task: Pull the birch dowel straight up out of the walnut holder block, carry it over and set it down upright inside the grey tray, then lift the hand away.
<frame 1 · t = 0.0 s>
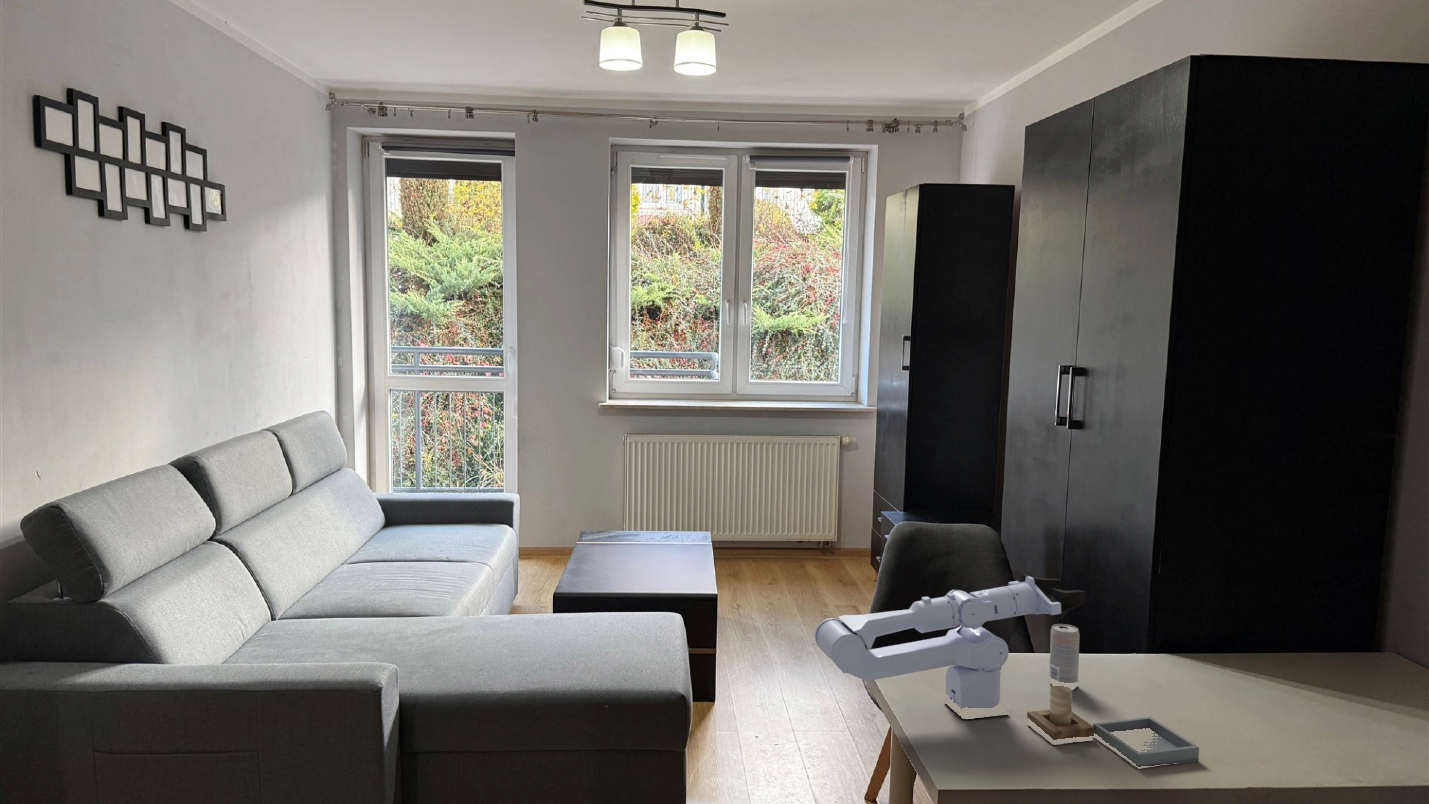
hand: (1072, 590, 168), 22 cm above the table, tool horizontal, fingers open, 7 cm apart
energy drink: (1063, 686, 177), on the table
tray: (1144, 748, 150), on the table
dowel: (1060, 711, 156), in the holder
holder: (1059, 733, 156), on the table
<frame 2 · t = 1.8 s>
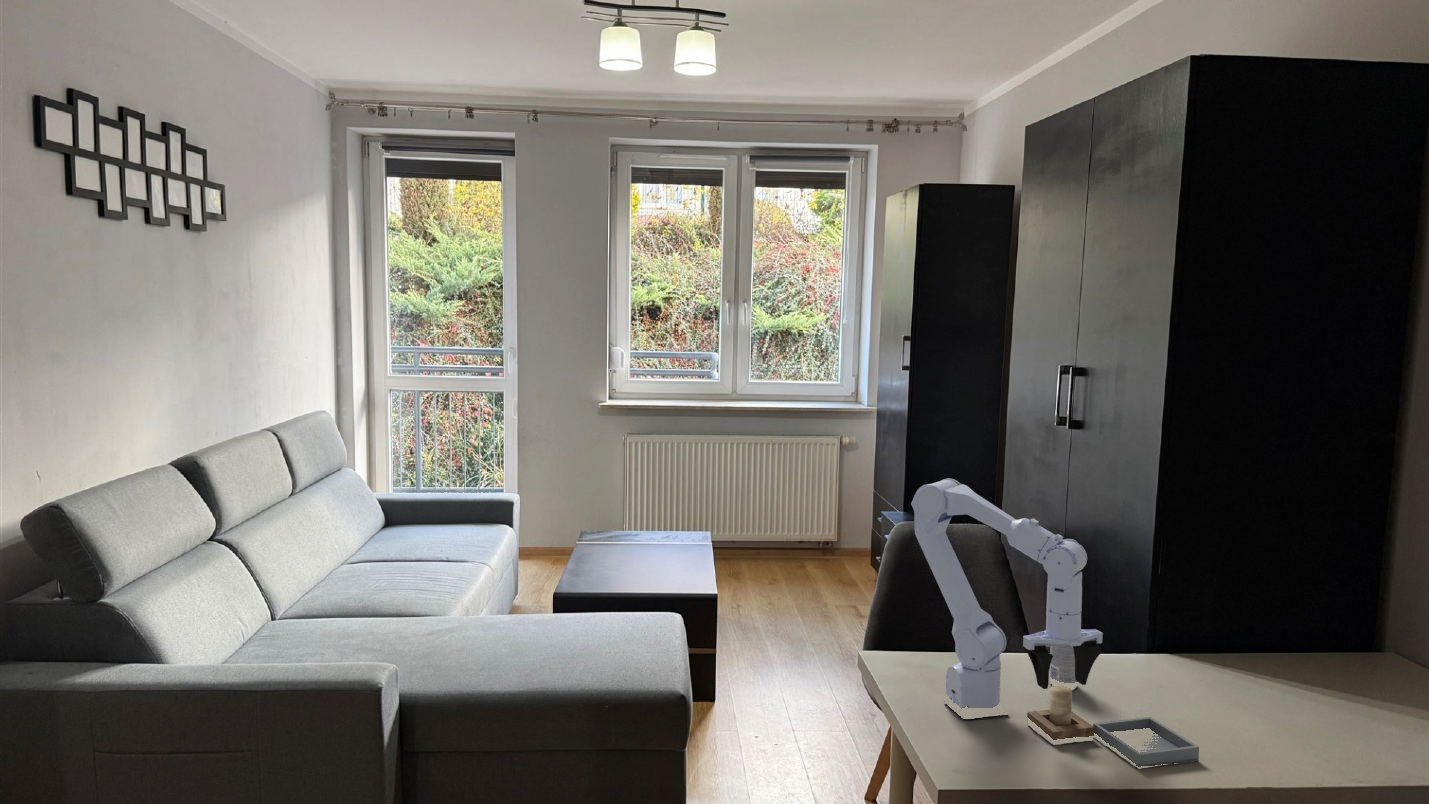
hand: (1061, 684, 155), 9 cm above the table, tool pointing down, fingers open, 7 cm apart
nothing on the table moved.
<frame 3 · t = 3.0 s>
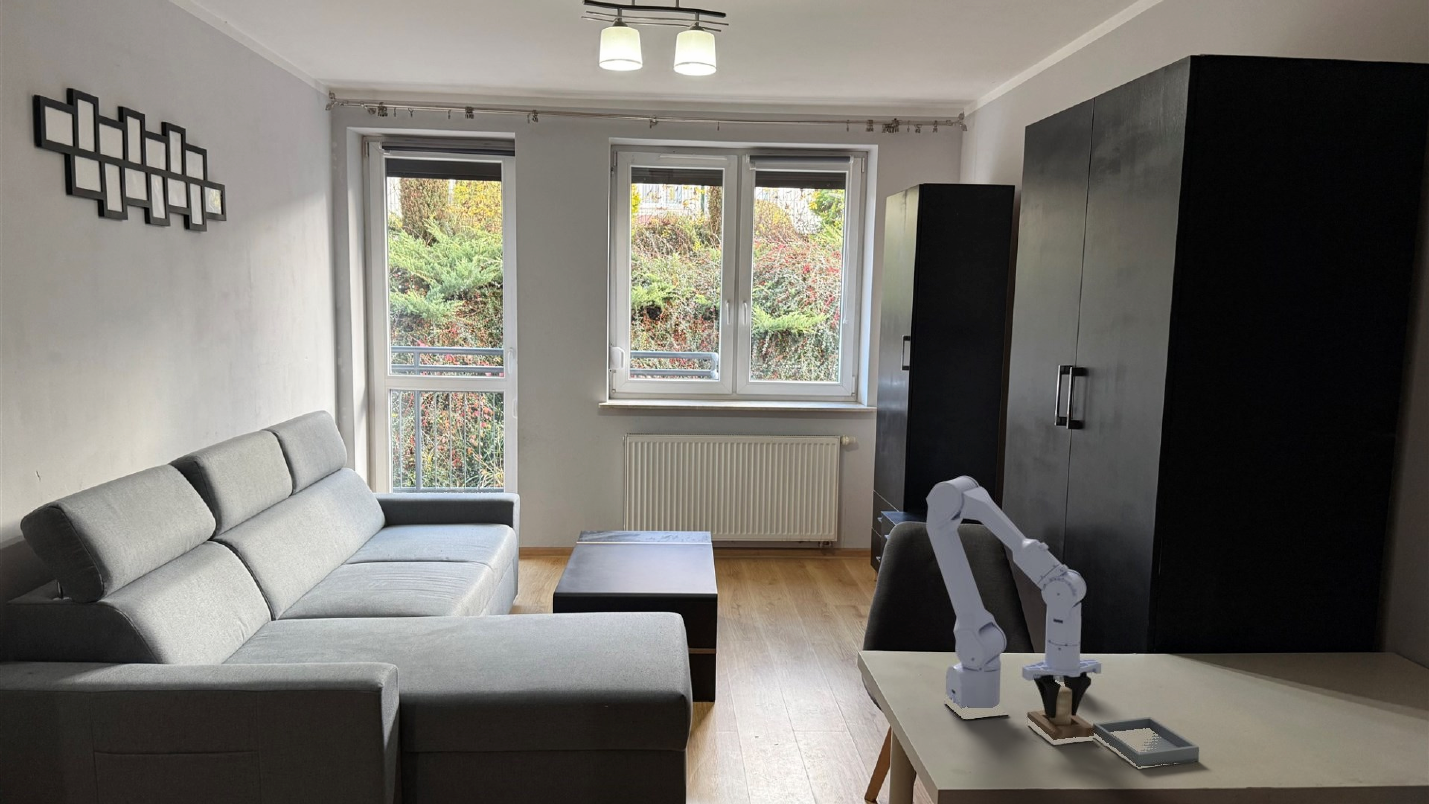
hand: (1060, 714, 156), 3 cm above the table, tool pointing down, fingers closed on dowel, 4 cm apart
dowel: (1060, 711, 156), in the holder, touching gripper
everything else where it was.
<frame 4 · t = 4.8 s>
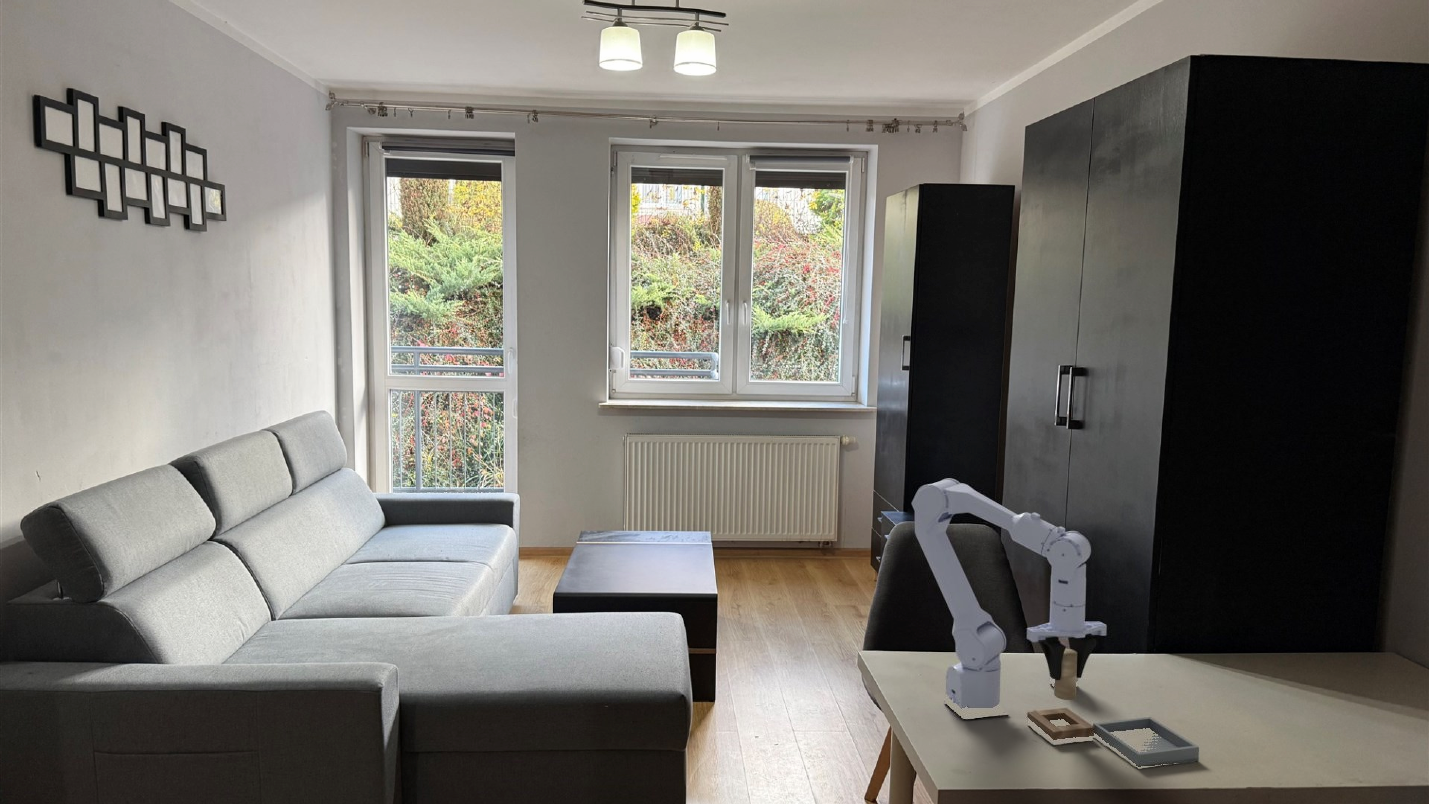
hand: (1065, 677, 155), 10 cm above the table, tool pointing down, fingers closed on dowel, 4 cm apart
dowel: (1065, 673, 155), point 11 cm above the table, touching gripper
everything else where it was.
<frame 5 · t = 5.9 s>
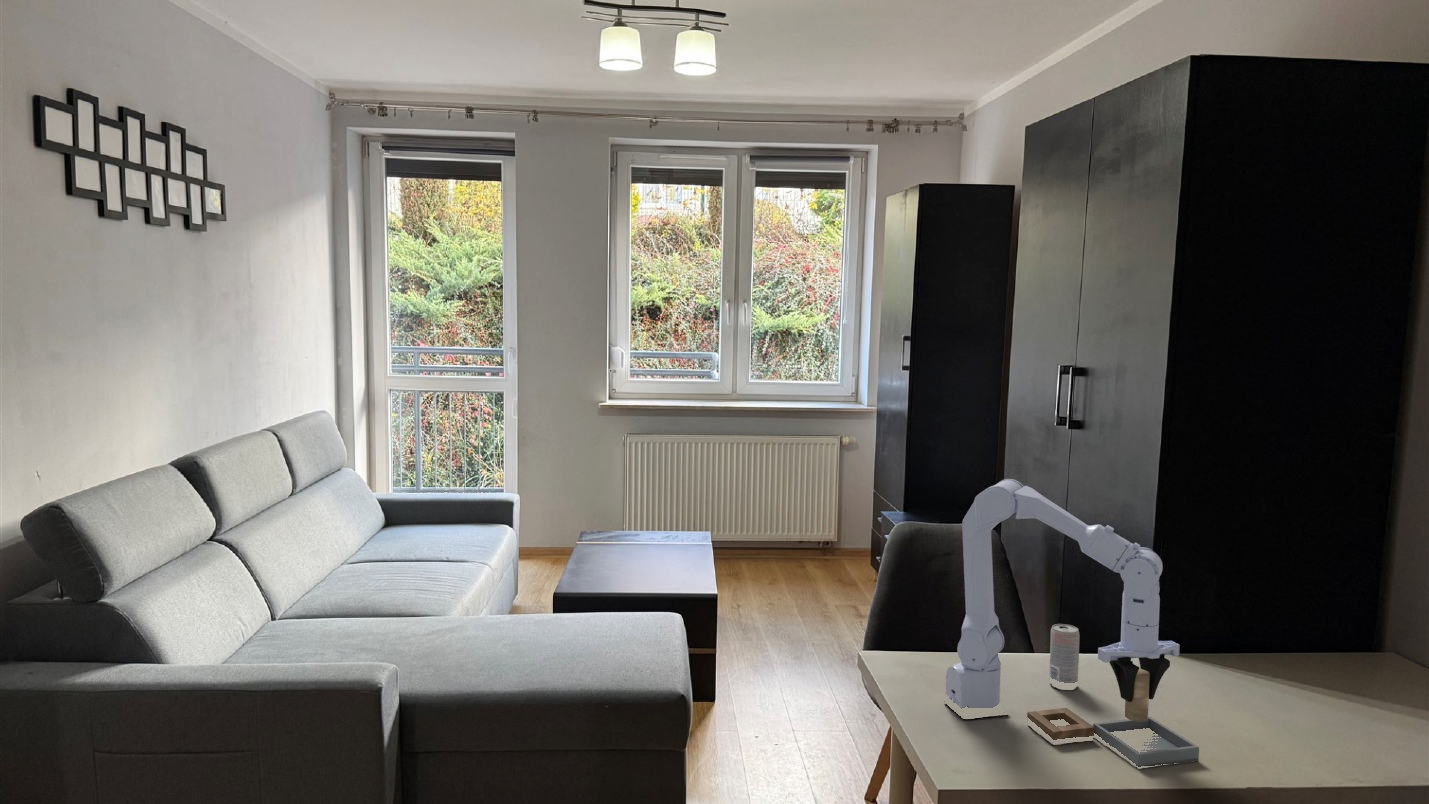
hand: (1137, 698, 150), 9 cm above the table, tool pointing down, fingers closed on dowel, 4 cm apart
dowel: (1137, 694, 150), point 9 cm above the table, touching gripper
everything else where it was.
when the fingers open (5 cm above the table, at t = 6.9 s): dowel drops 1 cm, resting on tray.
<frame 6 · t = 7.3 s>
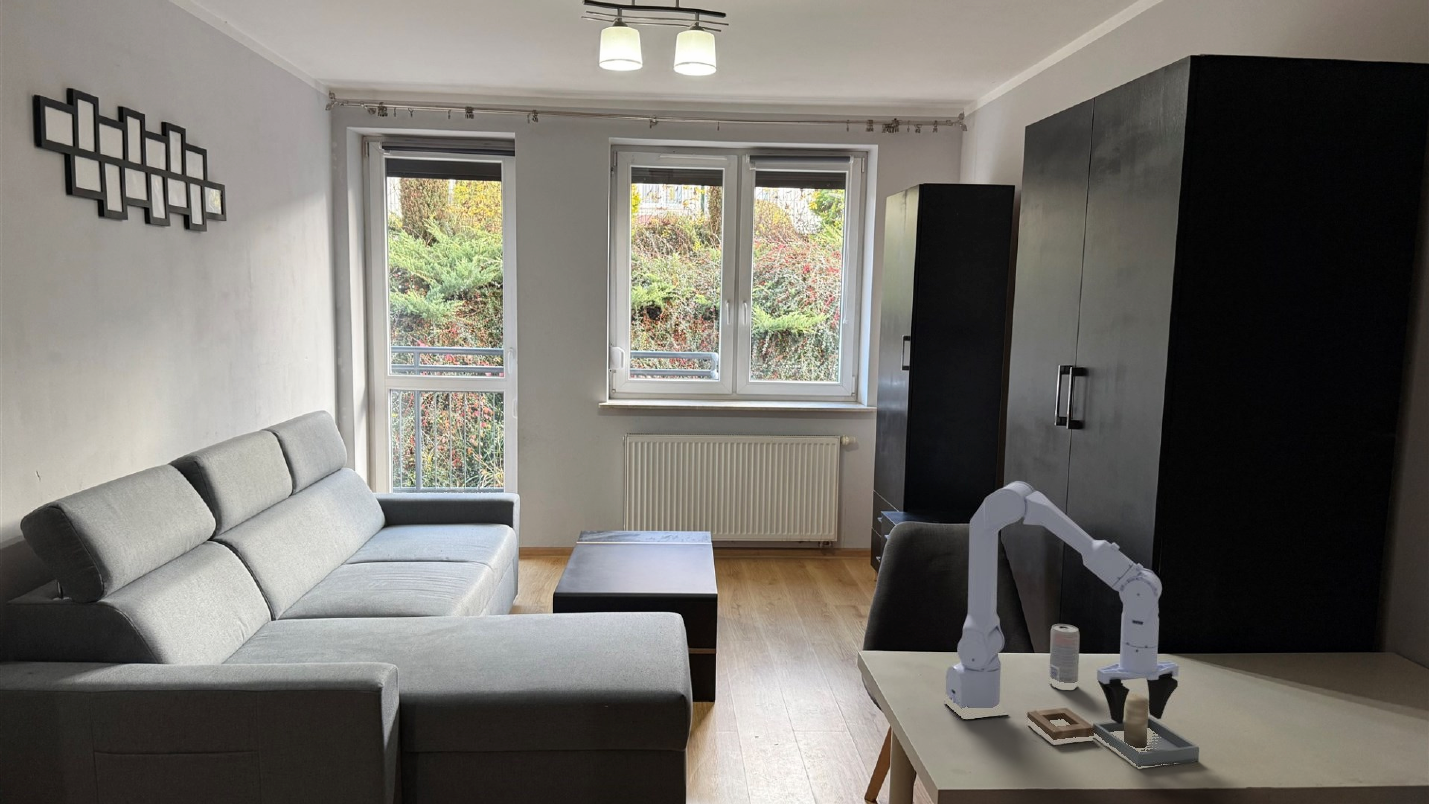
hand: (1136, 718, 151), 5 cm above the table, tool pointing down, fingers open, 7 cm apart
dowel: (1136, 721, 151), in the tray, point 5 cm above the table
everything else where it was.
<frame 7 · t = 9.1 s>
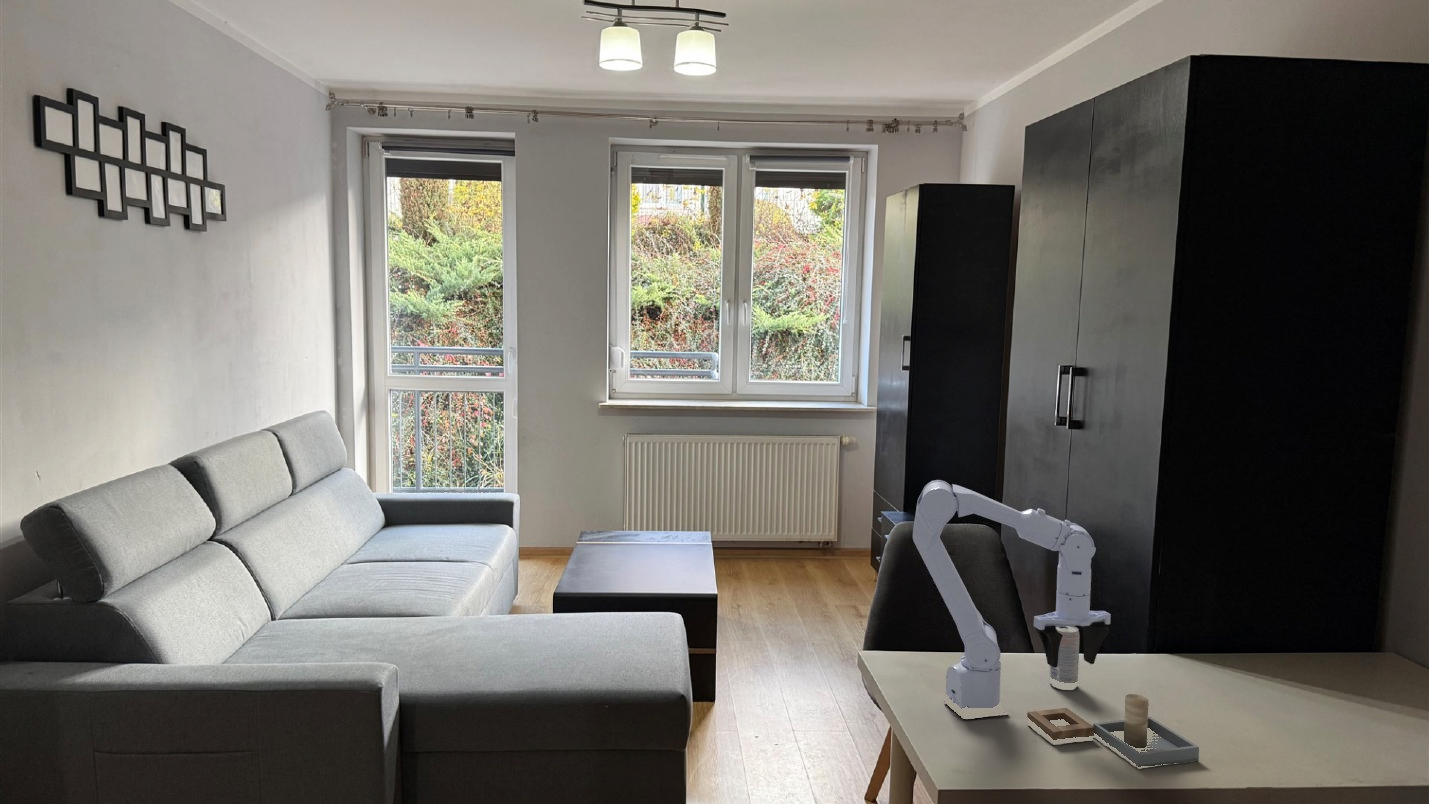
hand: (1070, 663, 161), 10 cm above the table, tool pointing down, fingers open, 7 cm apart
nothing on the table moved.
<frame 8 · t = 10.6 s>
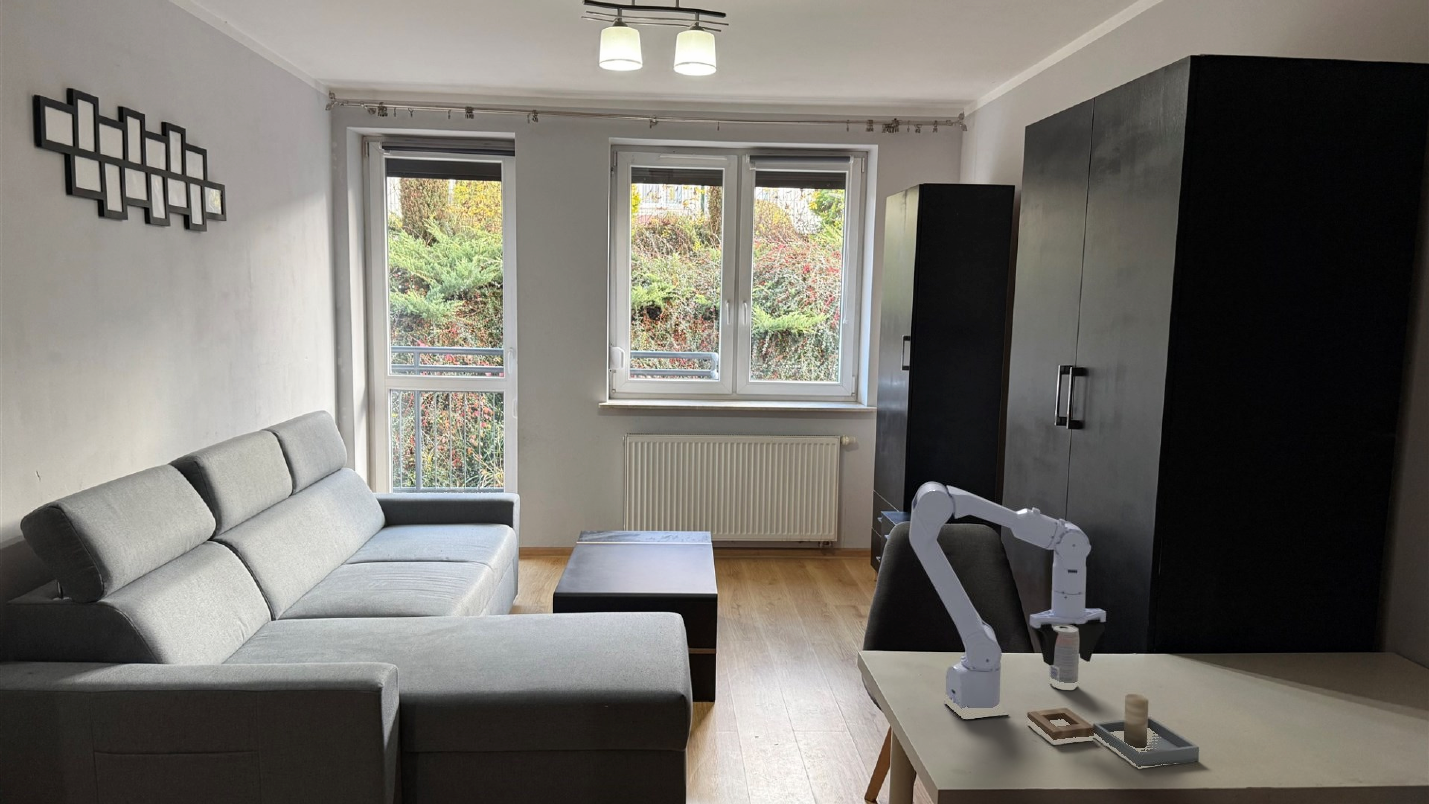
hand: (1066, 661, 162), 10 cm above the table, tool pointing down, fingers open, 7 cm apart
nothing on the table moved.
at the end: dowel inside the target area on the tray (1.4 cm from its centre), point 4.6 cm above the tray's base; dowel tilted 0°; the gripper is holding nothing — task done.
